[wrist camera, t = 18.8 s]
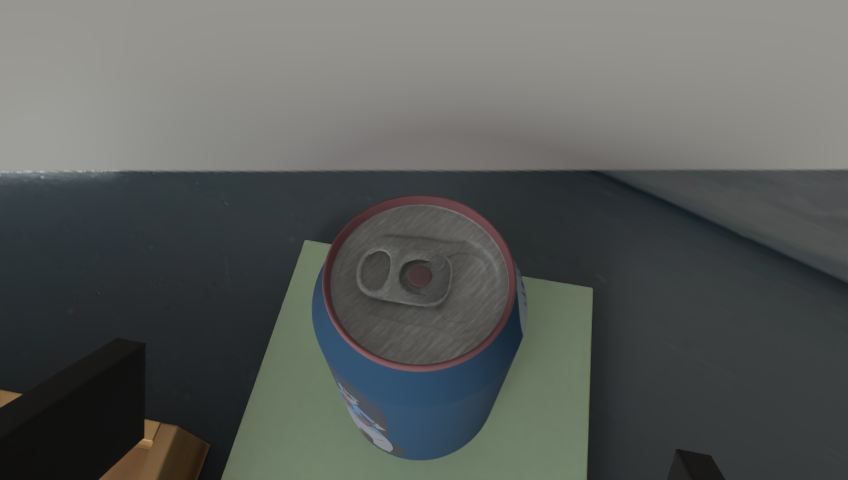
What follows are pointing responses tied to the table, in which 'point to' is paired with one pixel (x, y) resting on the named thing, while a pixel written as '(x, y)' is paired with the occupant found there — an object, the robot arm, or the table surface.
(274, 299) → the table surface
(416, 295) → the soda can
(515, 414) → the mat
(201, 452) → the wooden tray
